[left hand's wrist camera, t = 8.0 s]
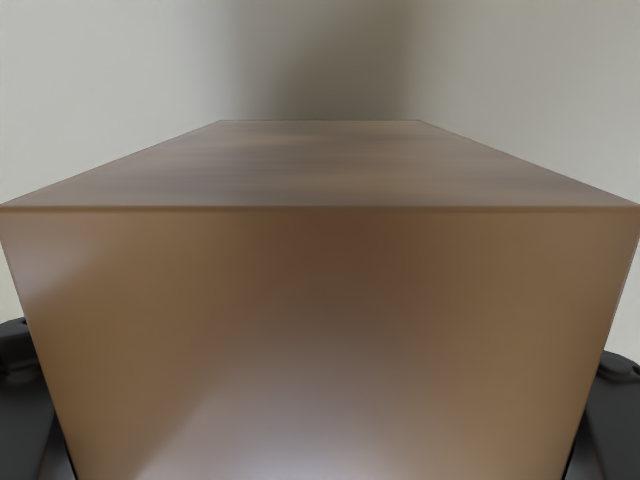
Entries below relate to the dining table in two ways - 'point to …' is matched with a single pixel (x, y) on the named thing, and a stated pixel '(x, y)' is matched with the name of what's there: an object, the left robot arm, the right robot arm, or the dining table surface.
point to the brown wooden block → (319, 304)
